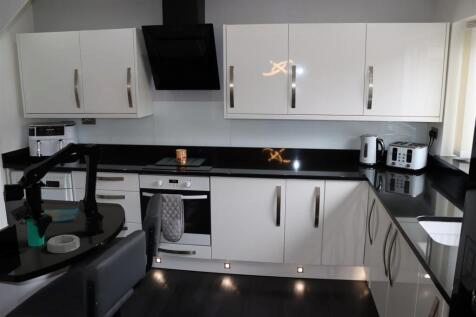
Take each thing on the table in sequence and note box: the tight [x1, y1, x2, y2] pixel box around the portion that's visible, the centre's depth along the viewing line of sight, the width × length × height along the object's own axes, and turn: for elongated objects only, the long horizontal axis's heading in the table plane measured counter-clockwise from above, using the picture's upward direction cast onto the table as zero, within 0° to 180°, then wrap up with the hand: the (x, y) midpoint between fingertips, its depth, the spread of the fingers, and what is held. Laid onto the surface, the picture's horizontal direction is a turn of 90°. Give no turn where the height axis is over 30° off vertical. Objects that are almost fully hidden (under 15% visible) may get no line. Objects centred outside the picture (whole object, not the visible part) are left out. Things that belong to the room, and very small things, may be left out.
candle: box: [26, 218, 45, 247], centre depth 161 cm, size 6×6×12 cm
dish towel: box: [20, 207, 81, 225], centre depth 193 cm, size 17×23×2 cm
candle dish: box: [46, 234, 81, 254], centre depth 159 cm, size 12×12×3 cm
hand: (36, 235), depth 161 cm, fingers open, 9 cm apart
